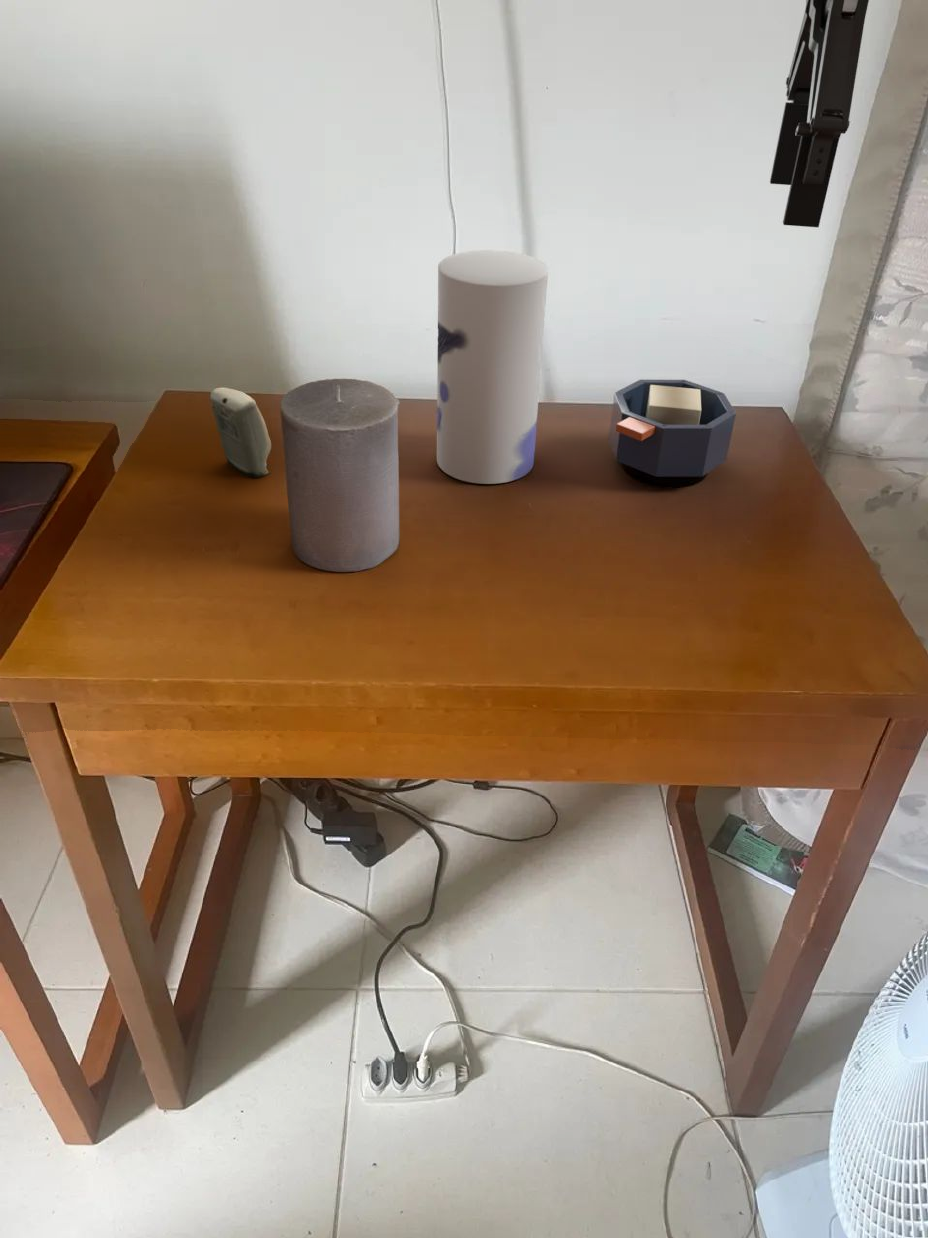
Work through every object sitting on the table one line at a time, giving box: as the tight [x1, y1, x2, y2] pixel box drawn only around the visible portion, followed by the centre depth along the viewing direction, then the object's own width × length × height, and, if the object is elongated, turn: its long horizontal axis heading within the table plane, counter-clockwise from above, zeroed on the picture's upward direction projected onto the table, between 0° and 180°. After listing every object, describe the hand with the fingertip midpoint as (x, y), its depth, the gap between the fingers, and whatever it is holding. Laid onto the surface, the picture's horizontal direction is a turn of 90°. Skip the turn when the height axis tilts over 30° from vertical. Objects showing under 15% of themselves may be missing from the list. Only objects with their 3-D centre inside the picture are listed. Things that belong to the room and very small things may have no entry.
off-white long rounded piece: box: [209, 387, 272, 479], centre depth 97 cm, size 6×5×8 cm
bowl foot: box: [619, 462, 709, 489], centre depth 101 cm, size 9×9×2 cm
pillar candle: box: [279, 378, 401, 573], centre depth 84 cm, size 10×10×15 cm
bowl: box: [608, 379, 737, 477], centre depth 98 cm, size 13×11×5 cm
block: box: [645, 385, 701, 425], centre depth 98 cm, size 5×5×5 cm
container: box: [436, 249, 549, 485], centre depth 95 cm, size 10×10×20 cm
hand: (792, 203), depth 84 cm, fingers open, 13 cm apart
